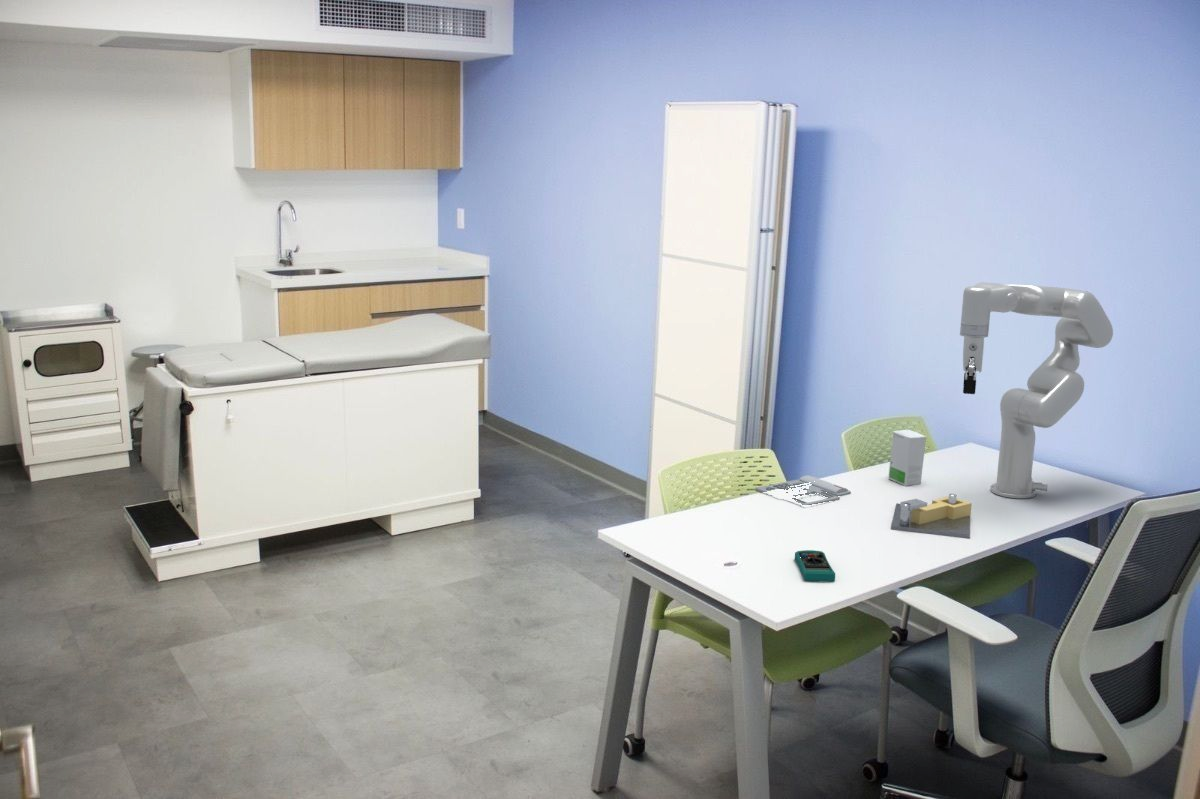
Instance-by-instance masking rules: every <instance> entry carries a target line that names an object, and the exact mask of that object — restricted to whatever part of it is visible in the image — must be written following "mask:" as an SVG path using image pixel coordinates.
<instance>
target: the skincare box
mask: <svg viewBox="0 0 1200 799" xmlns="http://www.w3.org/2000/svg"><path fill="white" fill-rule="evenodd" d="M891 439H892V440H891V449H890V461H889V467H888V468H889V469H888V475H887V476H888V480H891V481H893V482H895V483H898V484H899V485H902V486H904V487H909V486H915V485H920V484H921V483H922V477H923V476H922V474H923V467H924V459H925V458H924V457H925V452H926V451H925V450H926V441H927V436H926V435H923V434H921V433H919V432H917V431H913V430H911V429H901V430H894V431H892V438H891Z"/></svg>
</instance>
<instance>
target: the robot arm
mask: <svg viewBox="0 0 1200 799" xmlns="http://www.w3.org/2000/svg"><path fill="white" fill-rule="evenodd" d="M962 293H963V294H962V307H961V318H960V328H959V330H960V331H959V336H961V337H963V349H962V350H963V351H962V364H963V365H962V368H963V369H962V370H963V372H964V374H963V375H964V376H963V387H962V388H963V389H962V393H963V394H967V395H975V394H976V388H977V372H978V373H982V368H983V358H984V347H985V338H988V337H989V332H990V331H989V330H990V320H991V313H992V312H993V313H995V312H996V313H1002V314H1003V313H1009V312H1011V313H1016V314H1020V315H1021V314H1022V315H1027V316H1028V315H1029V316H1036V317H1037V316H1038V317H1039V316H1041V317H1042V316H1043V317H1057V318H1058V317H1059V318H1060V319H1059V320H1058V321H1057V323H1056V325H1055V327H1054V328H1055V330H1054V333H1055V334H1054V336H1055V338H1054V348H1053V350H1052V352H1051V353H1050V354H1049V356H1048V357H1047V358H1046V359H1045V360H1043V362H1042V363H1041V364H1039V366H1038V367H1037V368H1035V370H1034V371H1033V372H1032V373H1031V374H1030V375H1029V377H1028V379H1027V383H1026V386H1027V389H1025V388H1019V387H1017V388H1014V387H1013V388H1011V389H1009V390H1007V391H1006V392H1005V393H1003V395H1002V396H1001V398H1000V404H999V408H1000V409H999V411H1000V417H1001V418H1000V419H1001V431H1000V442H999V454H998V463H997V472H996V473H997V474H996V481H995V482H996V483H993V484H991V485H990V492H992V494H995V495H996V496H997V495H998V496H1001V497H1005V498H1011V499H1022V500H1023V499H1030V498H1033V497H1035V496H1036V490H1037V491H1041V492H1043V491H1044V492H1048V484H1044V483H1043V482H1035V481H1033V477H1032V475H1033V474H1032V473H1033V465H1034V454H1035V446H1036V431H1035V428H1034V427H1038V428H1043V429H1047V428H1051V427H1053V426H1054V425H1055V424H1058V422H1059V421H1061V419H1062V418H1063V417H1065V415H1066V414H1067V413H1068V412H1070V410H1071V409H1072V408H1073V407H1074V406H1075V405H1076V404H1077V403H1078V402H1079V401H1080V399H1081V397H1082V396H1083V393H1084V391H1085V390H1084V389H1085V380H1084V378H1083V377H1082V375H1081V374H1080V373H1078V372H1077V370H1078V369H1079V366H1080V363H1081V362H1080V361H1081V359H1080V358H1081V357H1080V352H1079V346H1084V347H1089V348H1092V349H1093V348H1094V349H1099V348H1100V349H1101V348H1104V347H1106V346H1108V345H1109V344H1110V343H1111V341H1112V339H1113V336H1114V329H1113V325H1112V322H1111V321H1110V319H1109V317H1108V315H1107V314H1106V311H1105V310H1104V308H1103V306H1102V304H1101V302H1099V300H1098V299H1097V297H1096V296H1095V295H1094V294H1093V293H1091V292H1089V291H1087V290H1081V289H1073V288H1068V287H1067V288H1066V287H1058V286H1057V287H1054V286H1045V285H1044V286H1042V285H1031V284H1007V283H993V282H978V283H976V284H975V285H969V286H966V287H965V288H964V289H963V292H962Z"/></svg>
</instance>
